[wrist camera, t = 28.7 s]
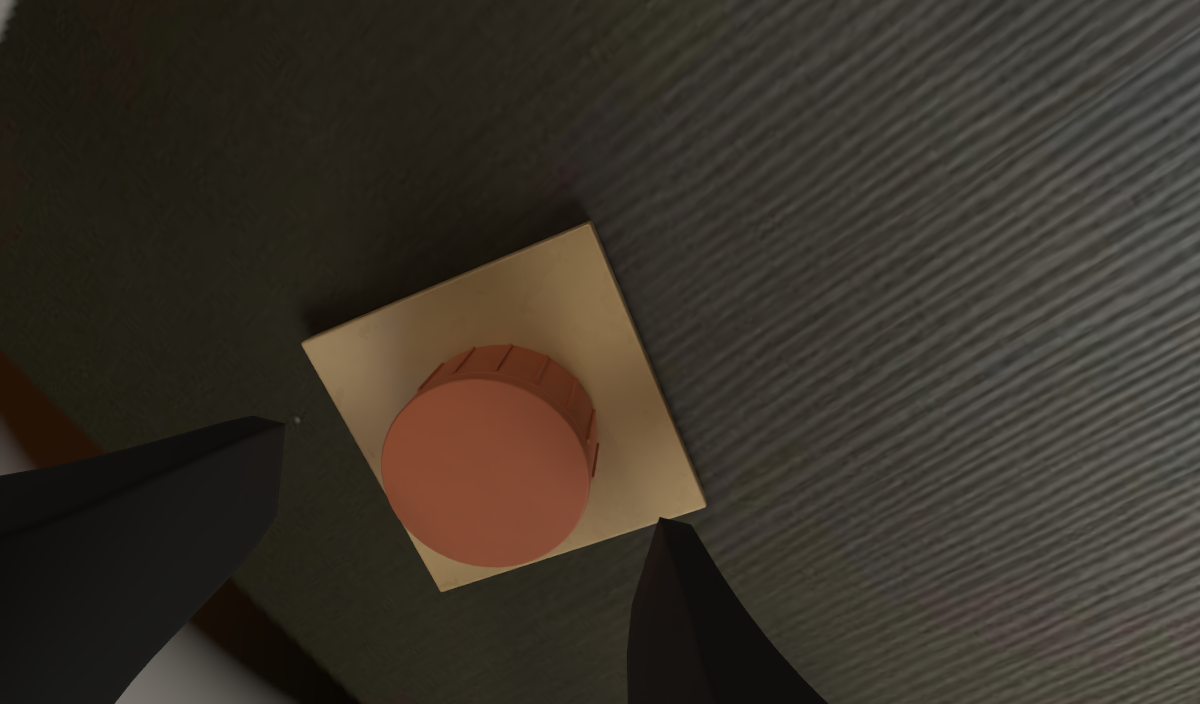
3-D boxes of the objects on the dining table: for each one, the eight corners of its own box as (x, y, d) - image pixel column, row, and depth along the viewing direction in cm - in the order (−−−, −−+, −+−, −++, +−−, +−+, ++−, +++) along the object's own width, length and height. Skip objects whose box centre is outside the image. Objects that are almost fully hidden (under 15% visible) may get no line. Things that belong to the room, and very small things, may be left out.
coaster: (311, 336, 16) (299, 343, 16) (591, 219, 15) (589, 222, 14) (446, 579, 18) (440, 593, 18) (705, 495, 17) (707, 507, 16)
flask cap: (401, 349, 16) (359, 385, 13) (588, 335, 15) (578, 370, 13) (433, 515, 17) (400, 573, 15) (607, 506, 17) (600, 564, 14)
